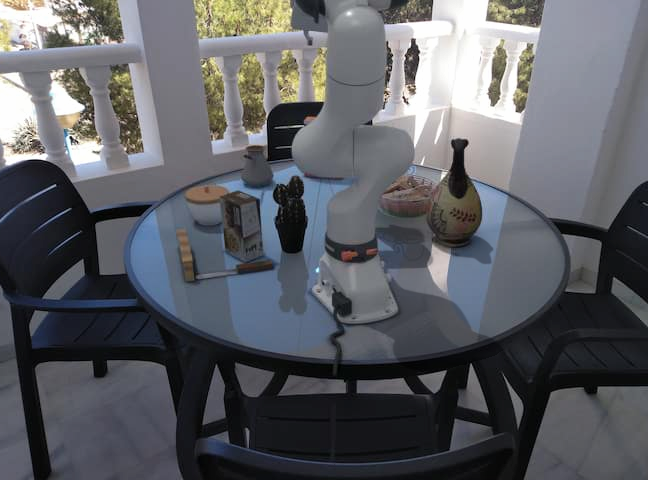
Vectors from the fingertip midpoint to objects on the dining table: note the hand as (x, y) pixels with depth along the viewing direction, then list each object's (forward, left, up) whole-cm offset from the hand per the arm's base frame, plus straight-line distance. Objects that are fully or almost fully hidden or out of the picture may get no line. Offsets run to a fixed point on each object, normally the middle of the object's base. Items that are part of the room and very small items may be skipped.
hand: (326, 46), depth 150 cm
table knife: (-35, +35, -48) cm, 69 cm away
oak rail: (-26, +46, -48) cm, 72 cm away
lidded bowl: (-1, +37, -48) cm, 61 cm away
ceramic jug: (-35, -26, -48) cm, 65 cm away
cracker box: (+27, -8, -48) cm, 56 cm away
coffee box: (-25, +31, -48) cm, 63 cm away
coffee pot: (+22, +19, -48) cm, 56 cm away
